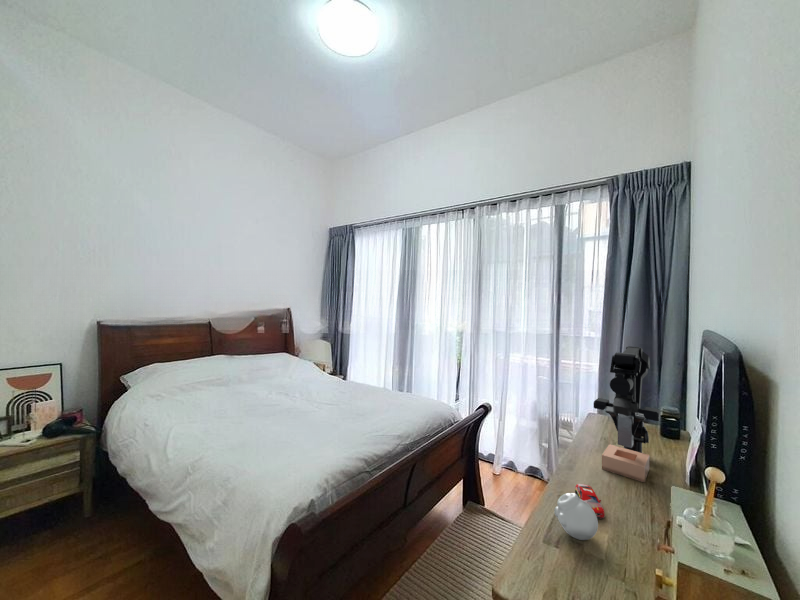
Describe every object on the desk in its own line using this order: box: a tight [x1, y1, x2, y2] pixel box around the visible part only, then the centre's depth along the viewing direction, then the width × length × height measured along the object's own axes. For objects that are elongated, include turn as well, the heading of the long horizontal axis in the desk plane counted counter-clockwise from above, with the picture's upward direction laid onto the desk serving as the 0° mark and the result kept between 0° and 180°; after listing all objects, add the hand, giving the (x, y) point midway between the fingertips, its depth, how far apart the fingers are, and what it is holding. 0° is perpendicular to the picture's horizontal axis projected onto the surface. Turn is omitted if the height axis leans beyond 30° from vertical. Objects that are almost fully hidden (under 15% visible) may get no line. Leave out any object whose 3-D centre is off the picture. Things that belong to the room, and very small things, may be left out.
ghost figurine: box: [553, 492, 599, 541], centre depth 79 cm, size 9×10×10 cm
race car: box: [574, 483, 606, 520], centre depth 91 cm, size 13×5×4 cm, turn 162°
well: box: [601, 443, 650, 484], centre depth 111 cm, size 12×12×5 cm
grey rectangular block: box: [617, 414, 634, 448], centre depth 111 cm, size 4×4×10 cm
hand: (625, 433), depth 111 cm, fingers closed on grey rectangular block, 4 cm apart
